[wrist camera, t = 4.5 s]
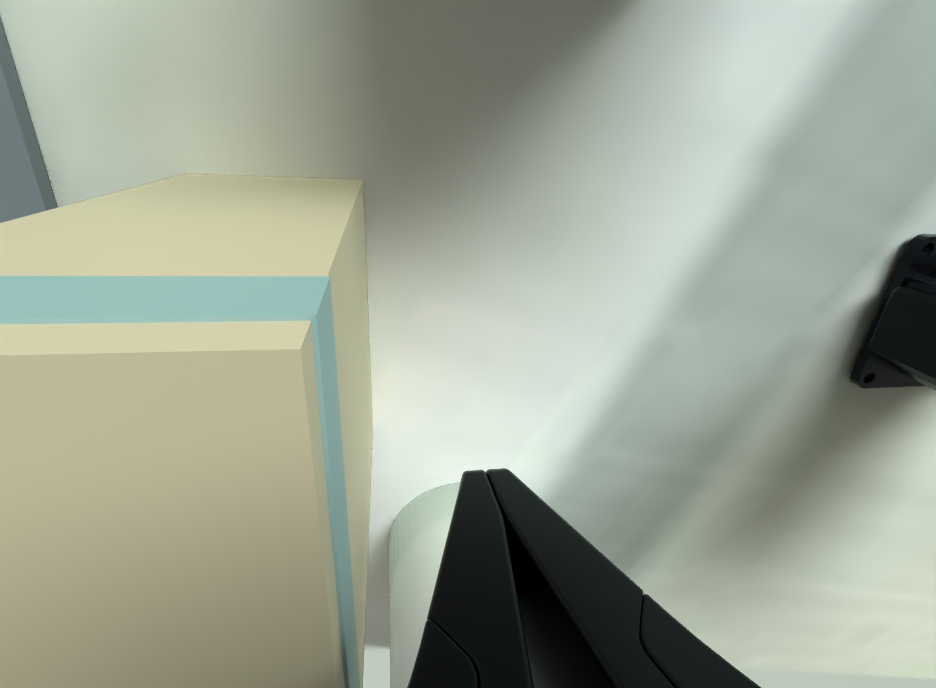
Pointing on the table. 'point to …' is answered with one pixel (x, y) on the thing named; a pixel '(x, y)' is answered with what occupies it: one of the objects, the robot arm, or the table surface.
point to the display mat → (19, 149)
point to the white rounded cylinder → (415, 573)
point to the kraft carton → (186, 437)
